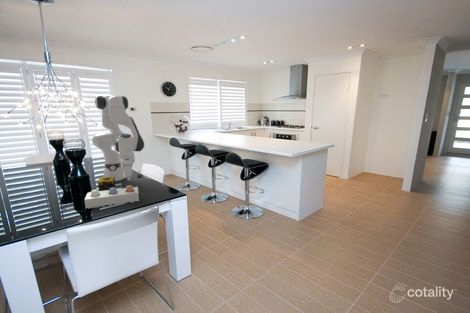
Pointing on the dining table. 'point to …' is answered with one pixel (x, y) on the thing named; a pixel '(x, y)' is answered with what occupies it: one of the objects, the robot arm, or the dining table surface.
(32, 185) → the dining table surface
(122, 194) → the console
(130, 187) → the key rust
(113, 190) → the key blue
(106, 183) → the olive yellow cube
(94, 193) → the key white
